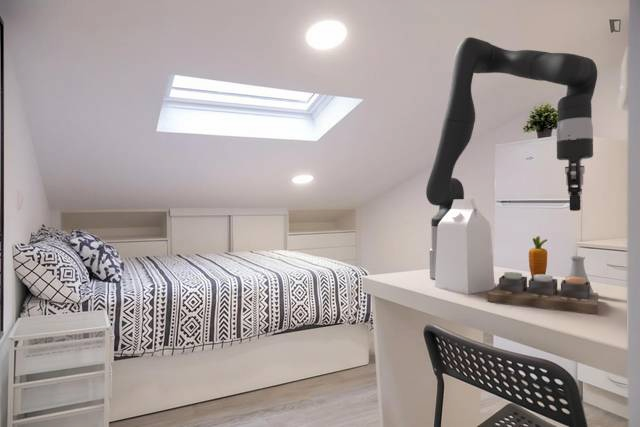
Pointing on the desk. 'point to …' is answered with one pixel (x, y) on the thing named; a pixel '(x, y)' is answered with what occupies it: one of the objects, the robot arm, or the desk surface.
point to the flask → (578, 268)
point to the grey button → (543, 278)
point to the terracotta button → (576, 280)
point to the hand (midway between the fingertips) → (575, 210)
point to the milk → (464, 250)
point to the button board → (545, 295)
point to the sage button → (513, 275)
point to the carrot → (538, 258)
